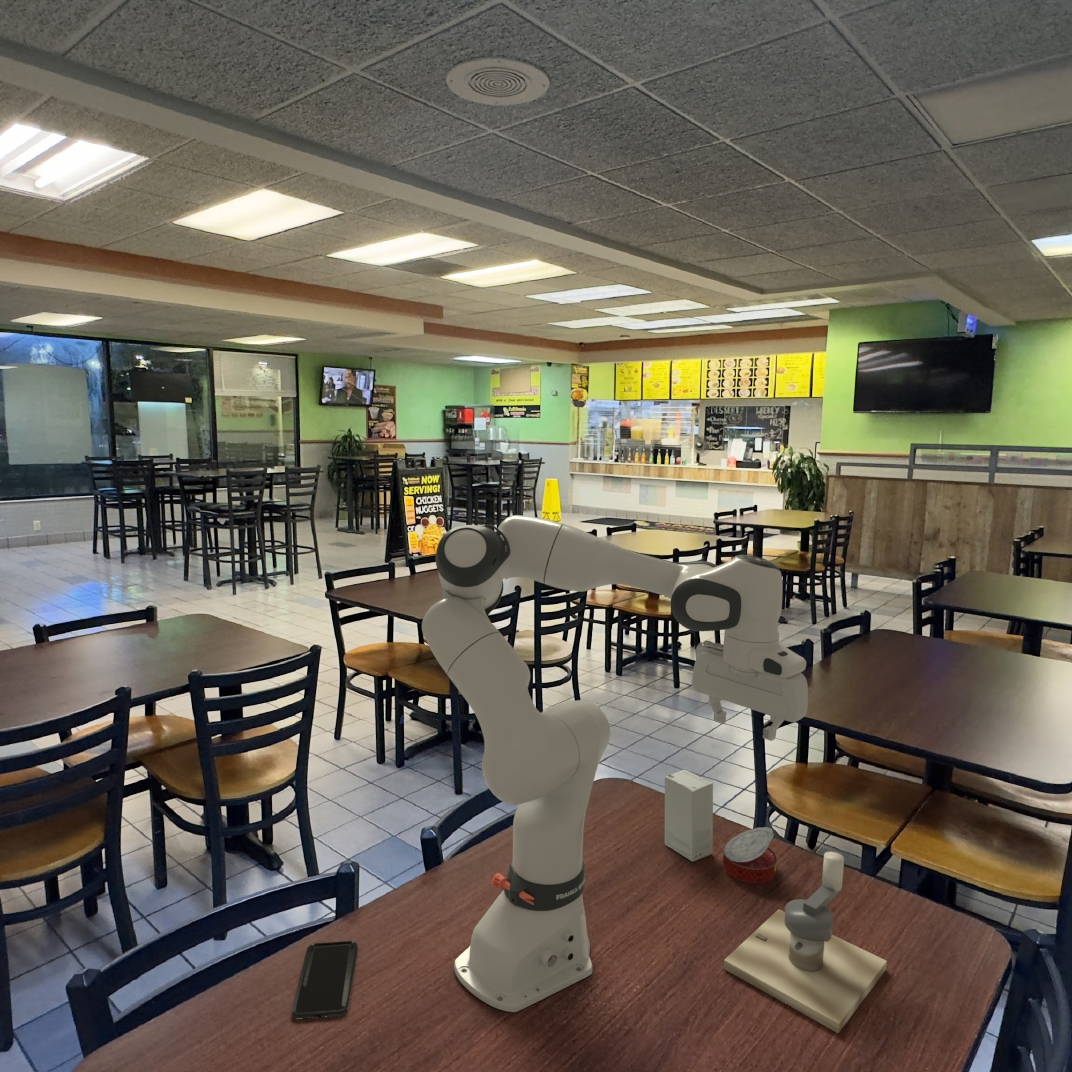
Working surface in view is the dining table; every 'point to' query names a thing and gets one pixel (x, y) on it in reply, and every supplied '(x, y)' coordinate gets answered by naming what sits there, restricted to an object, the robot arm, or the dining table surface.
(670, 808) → the skincare box
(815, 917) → the white knob lever
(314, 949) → the phone
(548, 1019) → the dining table surface
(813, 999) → the mount board
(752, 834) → the canned food
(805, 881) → the dining table surface
